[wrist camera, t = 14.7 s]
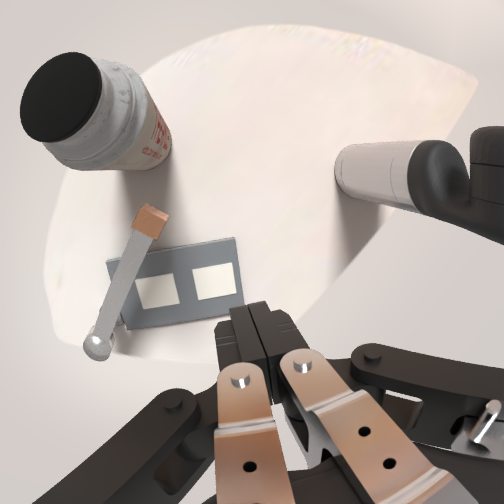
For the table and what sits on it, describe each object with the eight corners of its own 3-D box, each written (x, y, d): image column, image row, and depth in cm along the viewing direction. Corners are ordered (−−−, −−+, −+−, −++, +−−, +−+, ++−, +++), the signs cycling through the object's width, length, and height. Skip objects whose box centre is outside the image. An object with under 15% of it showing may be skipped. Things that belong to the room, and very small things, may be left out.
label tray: (233, 236, 42) (235, 239, 40) (244, 306, 46) (245, 311, 44) (107, 259, 39) (105, 262, 37) (128, 326, 42) (127, 331, 41)
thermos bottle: (180, 125, 35) (158, 36, 9) (160, 177, 37) (92, 191, 11) (130, 110, 33) (39, 23, 7) (111, 161, 35) (-17, 157, 8)
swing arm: (110, 350, 35) (105, 366, 32) (87, 339, 34) (80, 353, 30) (172, 217, 32) (169, 222, 29) (143, 201, 31) (137, 205, 27)
